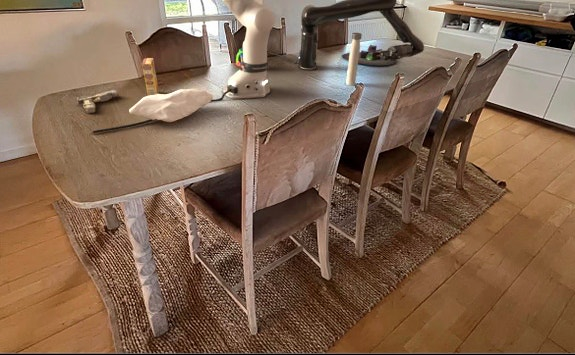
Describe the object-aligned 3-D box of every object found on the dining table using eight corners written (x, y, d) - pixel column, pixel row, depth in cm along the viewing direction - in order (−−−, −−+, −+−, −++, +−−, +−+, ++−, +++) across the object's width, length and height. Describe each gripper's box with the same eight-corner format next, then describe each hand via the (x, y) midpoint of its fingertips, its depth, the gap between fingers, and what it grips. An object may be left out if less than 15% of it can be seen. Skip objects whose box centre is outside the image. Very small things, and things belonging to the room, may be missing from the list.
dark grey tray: (408, 61, 231) (410, 46, 226) (368, 68, 213) (370, 52, 209) (368, 52, 256) (369, 39, 251) (330, 58, 238) (331, 43, 234)
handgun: (128, 97, 156) (111, 87, 164) (86, 107, 144) (70, 97, 152) (129, 103, 157) (113, 94, 165) (88, 114, 146) (72, 103, 154)
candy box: (157, 97, 164) (152, 63, 155) (147, 98, 163) (141, 63, 155) (158, 91, 171) (153, 57, 163) (149, 91, 170) (143, 58, 162)
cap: (352, 39, 176) (353, 34, 175) (350, 37, 180) (351, 32, 179) (361, 39, 176) (362, 34, 175) (360, 37, 180) (360, 32, 179)
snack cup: (256, 64, 215) (256, 46, 209) (265, 68, 208) (265, 50, 202) (232, 67, 207) (231, 49, 202) (240, 72, 200) (240, 53, 195)
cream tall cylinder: (346, 85, 188) (353, 35, 175) (345, 82, 192) (351, 33, 179) (355, 85, 189) (362, 35, 175) (353, 82, 193) (360, 33, 179)
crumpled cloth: (117, 110, 146) (113, 90, 140) (195, 92, 166) (194, 73, 160) (143, 139, 134) (140, 118, 128) (223, 116, 154) (224, 96, 148)
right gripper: (387, 43, 206) (368, 46, 197) (409, 48, 196) (389, 52, 188) (385, 56, 210) (366, 60, 201) (406, 62, 200) (387, 66, 192)
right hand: (378, 56), depth 194 cm, fingers open, 8 cm apart
